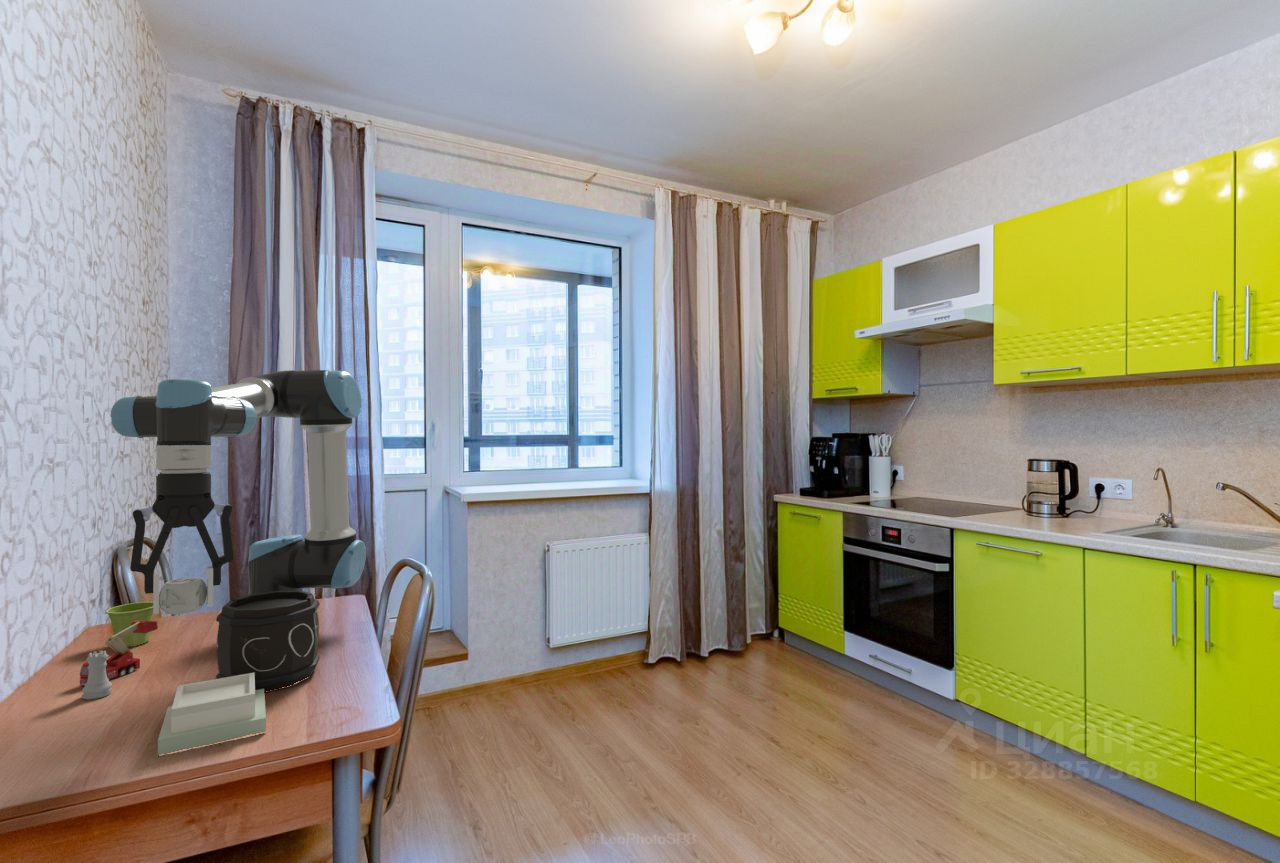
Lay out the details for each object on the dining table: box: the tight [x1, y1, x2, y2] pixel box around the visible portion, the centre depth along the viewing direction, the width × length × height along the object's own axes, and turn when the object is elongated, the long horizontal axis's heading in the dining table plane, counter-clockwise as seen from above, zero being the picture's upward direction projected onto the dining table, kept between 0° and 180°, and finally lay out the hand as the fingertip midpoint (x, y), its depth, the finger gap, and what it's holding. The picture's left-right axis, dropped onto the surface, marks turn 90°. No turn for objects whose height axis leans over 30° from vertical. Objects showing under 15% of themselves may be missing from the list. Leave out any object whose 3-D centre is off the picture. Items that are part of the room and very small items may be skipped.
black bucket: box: [215, 590, 321, 693], centre depth 126 cm, size 18×18×16 cm
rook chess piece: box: [81, 650, 113, 701], centre depth 118 cm, size 4×4×8 cm
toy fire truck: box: [79, 620, 158, 687], centre depth 128 cm, size 3×14×10 cm, turn 168°
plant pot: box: [105, 601, 154, 648], centre depth 148 cm, size 9×9×9 cm
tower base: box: [157, 672, 267, 756], centre depth 104 cm, size 14×14×7 cm
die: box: [159, 577, 207, 615], centre depth 106 cm, size 5×5×5 cm
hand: (183, 608), depth 106 cm, fingers closed on die, 7 cm apart
